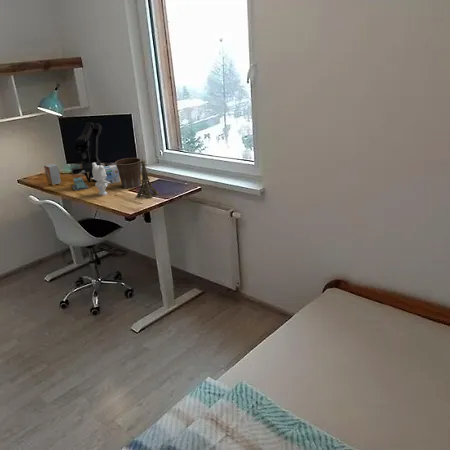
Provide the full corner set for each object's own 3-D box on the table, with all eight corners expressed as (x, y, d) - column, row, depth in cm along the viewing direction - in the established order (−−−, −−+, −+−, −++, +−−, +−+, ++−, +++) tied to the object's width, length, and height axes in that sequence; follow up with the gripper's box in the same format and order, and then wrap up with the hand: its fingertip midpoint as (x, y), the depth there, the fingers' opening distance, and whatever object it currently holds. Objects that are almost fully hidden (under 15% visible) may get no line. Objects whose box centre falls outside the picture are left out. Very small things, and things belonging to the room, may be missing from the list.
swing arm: (81, 181, 309) (80, 176, 307) (85, 187, 294) (84, 182, 293) (73, 182, 307) (72, 178, 306) (77, 188, 292) (76, 184, 291)
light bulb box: (105, 185, 301) (103, 169, 297) (101, 183, 306) (98, 167, 302) (120, 181, 307) (118, 165, 303) (116, 179, 312) (113, 164, 308)
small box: (47, 184, 313) (43, 165, 308) (56, 181, 317) (52, 163, 312) (52, 186, 307) (48, 167, 302) (61, 183, 311) (57, 165, 306)
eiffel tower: (144, 192, 281) (138, 151, 271) (159, 193, 277) (154, 152, 268) (135, 197, 271) (129, 155, 262) (150, 198, 268) (145, 156, 259)
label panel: (86, 184, 305) (85, 182, 305) (88, 188, 296) (88, 186, 295) (72, 186, 302) (71, 185, 302) (74, 191, 293) (73, 189, 292)
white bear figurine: (99, 190, 291) (94, 160, 284) (118, 195, 278) (113, 163, 271) (89, 193, 286) (83, 162, 279) (107, 198, 273) (102, 166, 266)
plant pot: (138, 189, 287) (135, 164, 281) (114, 189, 290) (110, 164, 285) (147, 181, 302) (144, 157, 296) (124, 182, 305) (121, 158, 299)
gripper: (71, 163, 283) (76, 187, 289) (102, 158, 290) (106, 182, 296) (69, 159, 293) (73, 183, 298) (99, 155, 300) (102, 178, 305)
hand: (89, 181), depth 299 cm, fingers closed
